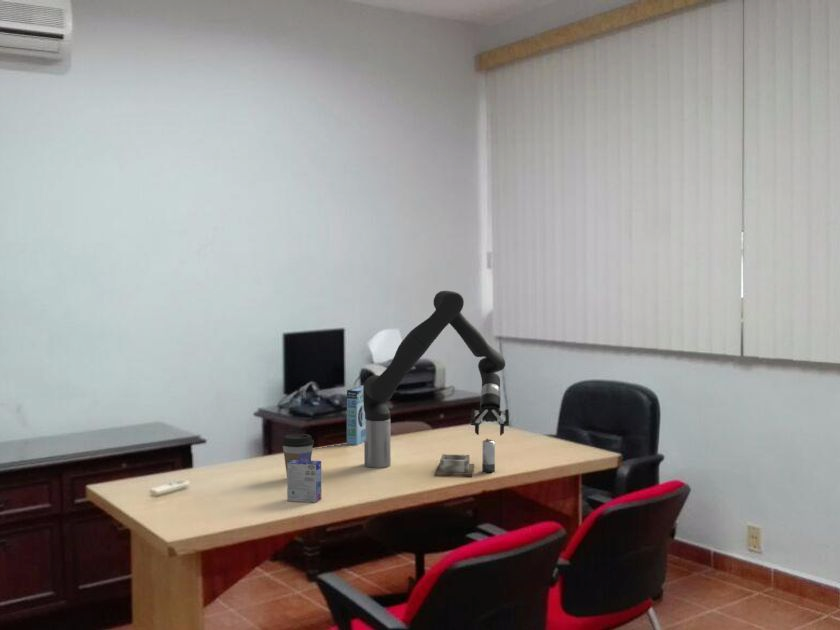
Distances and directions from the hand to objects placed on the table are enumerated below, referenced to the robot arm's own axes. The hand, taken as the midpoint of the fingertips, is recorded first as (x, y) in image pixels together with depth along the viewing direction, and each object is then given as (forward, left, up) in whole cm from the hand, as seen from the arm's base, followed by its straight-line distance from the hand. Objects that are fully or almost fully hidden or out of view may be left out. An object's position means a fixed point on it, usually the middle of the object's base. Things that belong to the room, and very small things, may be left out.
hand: (489, 434), depth 315 cm
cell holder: (-12, -8, -12) cm, 19 cm away
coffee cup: (-65, -26, -12) cm, 71 cm away
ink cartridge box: (-56, -52, -12) cm, 78 cm away
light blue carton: (-56, +43, -12) cm, 71 cm away
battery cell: (0, -7, -12) cm, 14 cm away
